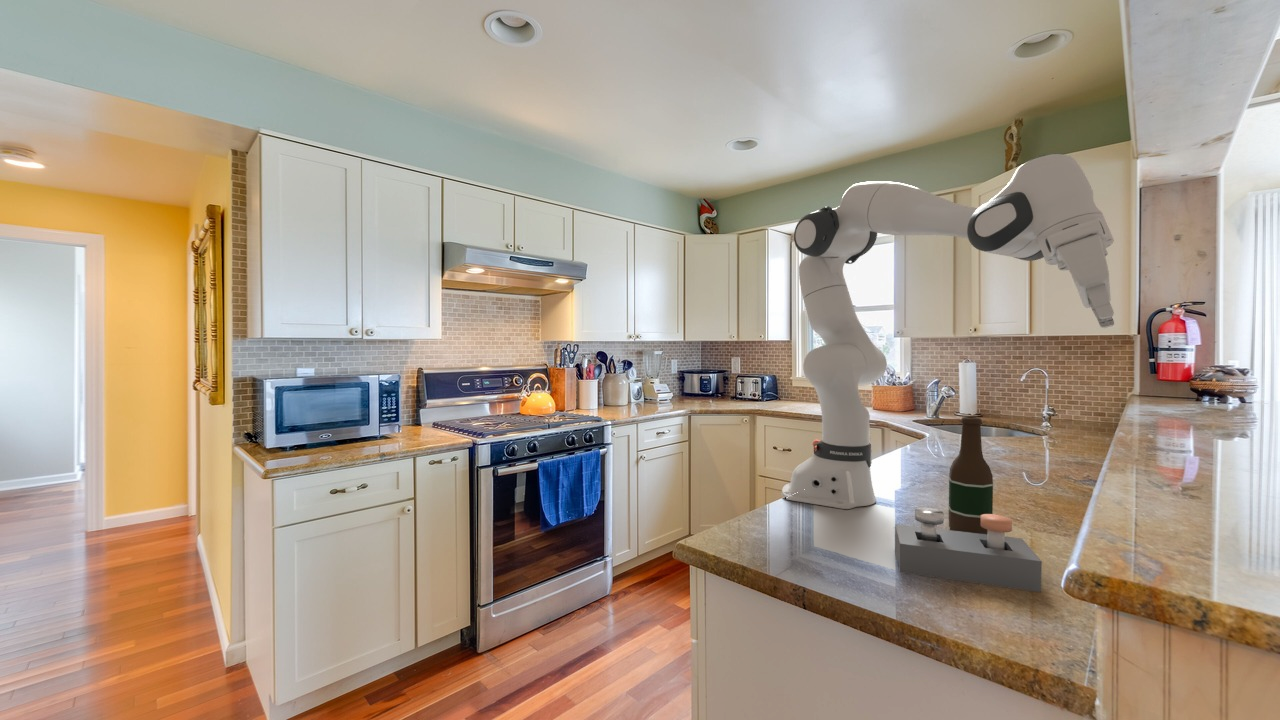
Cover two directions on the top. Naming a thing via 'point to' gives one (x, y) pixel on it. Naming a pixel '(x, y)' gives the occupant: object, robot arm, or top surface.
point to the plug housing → (968, 558)
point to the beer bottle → (970, 482)
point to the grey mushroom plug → (929, 522)
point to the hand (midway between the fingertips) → (1107, 322)
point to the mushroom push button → (996, 529)
